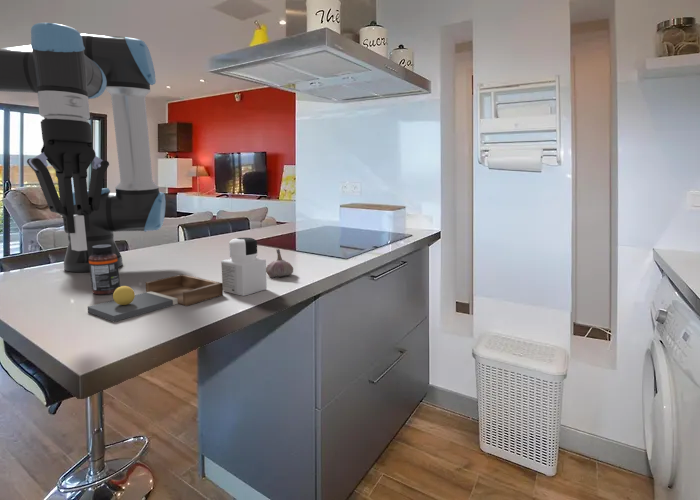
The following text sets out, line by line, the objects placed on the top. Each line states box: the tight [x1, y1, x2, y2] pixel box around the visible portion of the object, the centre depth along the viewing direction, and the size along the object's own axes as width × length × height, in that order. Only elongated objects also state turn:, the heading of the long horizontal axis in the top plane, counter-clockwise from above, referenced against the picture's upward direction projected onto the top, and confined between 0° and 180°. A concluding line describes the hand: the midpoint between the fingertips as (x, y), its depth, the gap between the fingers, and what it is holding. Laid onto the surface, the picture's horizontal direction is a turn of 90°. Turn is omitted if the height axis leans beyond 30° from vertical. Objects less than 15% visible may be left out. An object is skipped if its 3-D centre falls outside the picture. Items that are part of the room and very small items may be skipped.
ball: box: [112, 285, 136, 305], centre depth 88 cm, size 4×4×4 cm
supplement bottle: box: [89, 245, 121, 296], centre depth 101 cm, size 6×6×11 cm
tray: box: [145, 273, 224, 307], centre depth 100 cm, size 15×10×3 cm, turn 57°
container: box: [221, 237, 268, 297], centre depth 103 cm, size 8×8×13 cm
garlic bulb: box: [266, 248, 294, 279], centre depth 119 cm, size 8×7×8 cm
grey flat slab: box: [87, 291, 179, 323], centre depth 90 cm, size 10×14×1 cm
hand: (79, 249), depth 80 cm, fingers closed
